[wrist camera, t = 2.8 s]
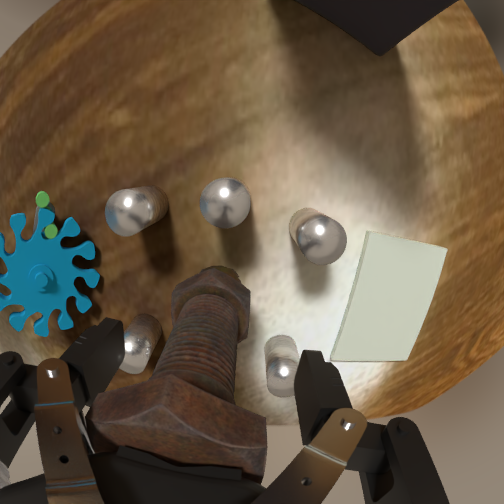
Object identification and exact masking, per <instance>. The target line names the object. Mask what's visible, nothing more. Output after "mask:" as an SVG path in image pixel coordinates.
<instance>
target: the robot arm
mask: <svg viewBox="0 0 504 504" xmlns="http://www.w3.org/2000/svg"><path fill="white" fill-rule="evenodd" d="M124 357H125V341H124V330H123V323H122V321H119V320H115V319H111V318H107V317H106V318H105V319H104V320H103V321H102V322H101V323H100V324H99V325H98V326H96V325H94V326H92V327H90V328H88V329H86V330H85V331H84V332H83V333H82V334H81V335H80V337H78V338H77V339H76V340H75V342H74V343H73V344H72V345H71V346H70V347H69V348H68V349H67V350H66V351H65V352H64V353H63V355H62V356H61V357H60V358H59V359H57V358H50V359H46V360H44V361H42V362H41V363H40V364H39V365H38V366H34V365H28V364H24V362H23V360H22V357H21V355H20V354H18V353H16V352H13V351H9V352H4V353H2V354H0V407H1V405H2V404H3V402H4V401H5V400H6V398H7V397H8V396H10V397H11V401H10V402H9V404H8V405H7V406H6V408H5V409H4V410H3V412H2V413H1V415H0V504H321V503H322V501H323V500H324V499H325V498H326V496H327V495H328V493H329V492H330V490H331V489H332V488H333V486H334V485H335V483H336V482H337V480H338V478H339V477H340V475H341V474H342V472H343V471H344V469H347V470H353V471H359V475H360V479H361V484H362V489H363V494H364V499H365V504H449V501H448V498H447V496H446V493H445V491H444V488H443V485H442V483H441V480H440V478H439V475H438V473H437V470H436V468H435V465H434V463H433V461H432V458H431V456H430V454H429V451H428V449H427V447H426V445H425V442H424V440H423V438H422V436H421V433H420V431H419V429H418V427H417V426H416V424H415V423H414V422H413V421H411V420H409V419H407V418H404V417H396V418H393V419H391V420H390V421H389V423H388V424H387V425H381V424H374V423H369V422H367V420H366V418H365V416H364V415H363V414H362V413H360V412H359V411H357V410H355V409H353V408H352V405H351V402H350V400H349V397H348V394H347V392H346V389H345V386H344V384H343V381H342V379H341V376H340V373H339V371H338V369H337V368H336V367H335V366H334V365H333V364H332V363H331V362H325V361H324V358H323V355H322V352H321V351H315V350H303V352H302V354H301V358H300V361H299V365H298V368H297V371H296V374H295V378H294V393H295V399H296V405H297V411H298V417H299V424H300V429H301V436H302V443H303V445H306V446H305V447H304V448H303V449H302V450H301V452H300V453H299V454H298V455H297V456H296V457H295V458H294V460H293V461H292V462H291V463H290V464H289V465H288V466H287V467H286V469H285V470H284V471H283V472H282V473H281V474H280V475H279V476H278V477H277V478H276V479H275V480H274V481H273V482H272V483H271V485H269V487H268V488H267V489H266V488H265V487H263V486H262V485H260V484H258V483H256V482H254V481H251V480H249V479H246V478H243V477H241V473H242V470H240V469H229V468H221V467H213V466H203V467H177V466H174V465H171V464H169V463H167V462H165V461H163V460H160V459H158V458H156V457H154V456H152V455H150V454H148V453H145V452H141V451H138V450H134V449H131V448H128V447H124V446H121V445H120V446H119V449H118V451H117V452H100V453H94V451H93V449H92V447H91V444H90V441H89V437H88V433H87V428H86V421H85V417H84V414H83V411H82V409H83V408H84V406H85V405H86V406H89V407H91V405H92V404H93V402H94V400H95V398H96V397H97V395H98V393H103V392H104V391H105V390H106V388H107V386H108V385H109V383H110V381H111V380H112V378H113V376H114V375H115V373H116V372H117V370H118V368H119V367H120V365H121V364H122V362H123V360H124ZM34 422H36V430H37V437H38V444H39V450H40V455H41V461H42V465H43V470H44V474H41V475H38V476H35V477H32V478H29V479H26V480H23V481H20V482H17V483H13V484H11V482H10V481H9V471H8V468H9V466H10V464H11V462H12V460H13V458H14V456H15V454H16V453H17V451H18V449H19V447H20V445H21V444H22V442H23V441H24V439H25V437H26V435H27V434H28V432H29V430H30V428H31V427H32V425H33V424H34Z"/></svg>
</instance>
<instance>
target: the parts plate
mask: <svg viewBox="0 0 504 504" xmlns="http://www.w3.org/2000/svg"><path fill="white" fill-rule="evenodd" d="M446 252H447V249H446V248H444V247H441V246H437V245H432V244H428V243H424V242H419V241H415V240H410V239H406V238H401V237H396V236H392V235H387V234H382V233H377V232H372V231H367V232H366V236H365V240H364V245H363V249H362V253H361V257H360V261H359V265H358V269H357V272H356V276H355V280H354V283H353V287H352V291H351V294H350V297H349V301H348V304H347V307H346V311H345V314H344V317H343V320H342V323H341V326H340V329H339V332H338V335H337V338H336V341H335V344H334V347H333V350H332V353H331V355H330V357H331V360H333V361H402V360H407V358H408V356H409V354H410V352H411V350H412V347H413V345H414V343H415V341H416V338H417V336H418V334H419V331H420V329H421V327H422V324H423V322H424V319H425V317H426V314H427V311H428V309H429V306H430V303H431V301H432V298H433V295H434V292H435V289H436V286H437V283H438V280H439V277H440V273H441V270H442V267H443V263H444V260H445V256H446Z"/></svg>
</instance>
